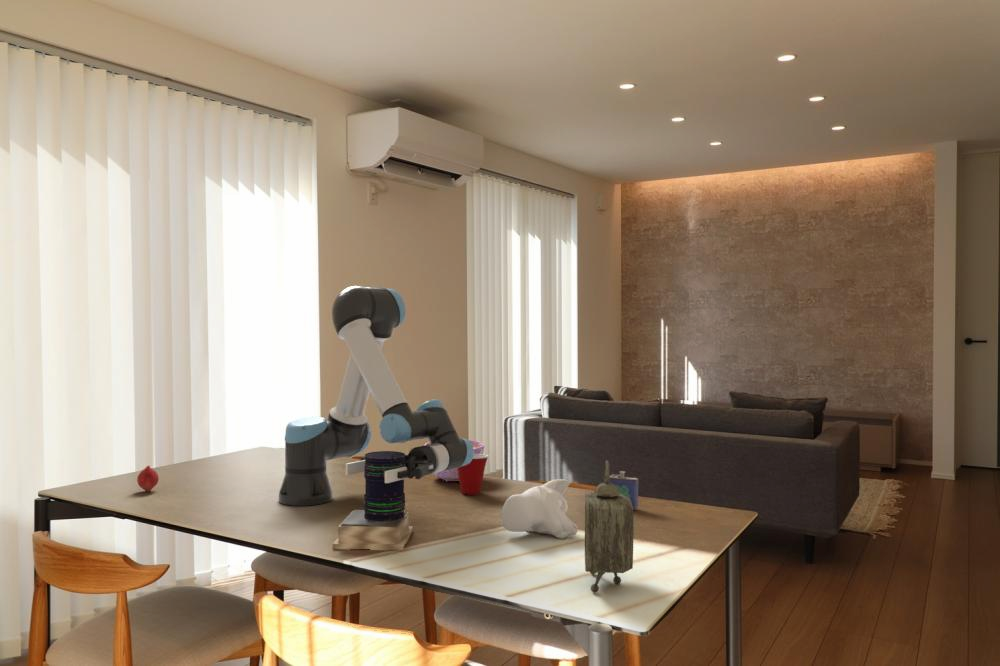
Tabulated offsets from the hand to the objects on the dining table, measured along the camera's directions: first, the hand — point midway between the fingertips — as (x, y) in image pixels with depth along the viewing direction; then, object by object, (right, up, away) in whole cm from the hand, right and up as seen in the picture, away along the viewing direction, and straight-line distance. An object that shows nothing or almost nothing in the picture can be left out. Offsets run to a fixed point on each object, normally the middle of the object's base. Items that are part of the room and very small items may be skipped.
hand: (365, 473), depth 178 cm
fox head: (+44, -17, +10) cm, 48 cm away
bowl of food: (+17, -15, +71) cm, 75 cm away
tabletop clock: (+54, -18, -25) cm, 62 cm away
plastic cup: (+23, -16, +52) cm, 59 cm away
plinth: (+2, -16, +3) cm, 17 cm away
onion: (-74, -15, +49) cm, 90 cm away
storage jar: (+4, -11, +3) cm, 12 cm away
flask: (+66, -17, +35) cm, 77 cm away
